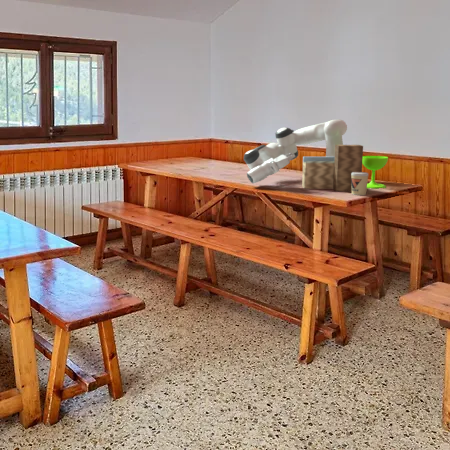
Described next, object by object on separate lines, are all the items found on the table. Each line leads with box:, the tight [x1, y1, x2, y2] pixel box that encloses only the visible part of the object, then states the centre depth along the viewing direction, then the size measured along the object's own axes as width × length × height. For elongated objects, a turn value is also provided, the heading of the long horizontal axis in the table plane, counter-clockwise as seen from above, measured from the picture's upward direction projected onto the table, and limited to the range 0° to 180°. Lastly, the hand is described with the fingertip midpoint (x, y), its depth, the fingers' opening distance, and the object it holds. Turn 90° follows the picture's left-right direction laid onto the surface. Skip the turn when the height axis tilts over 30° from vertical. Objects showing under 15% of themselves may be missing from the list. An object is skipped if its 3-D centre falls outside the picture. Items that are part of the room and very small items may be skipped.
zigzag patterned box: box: [301, 161, 334, 190], centre depth 359 cm, size 24×10×16 cm, turn 92°
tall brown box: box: [332, 144, 364, 192], centre depth 347 cm, size 14×9×26 cm, turn 92°
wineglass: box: [362, 155, 389, 190], centre depth 363 cm, size 16×16×18 cm
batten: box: [302, 156, 335, 163], centre depth 357 cm, size 19×3×3 cm, turn 92°
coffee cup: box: [351, 171, 369, 196], centre depth 334 cm, size 9×9×12 cm
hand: (293, 154), depth 356 cm, fingers open, 8 cm apart
